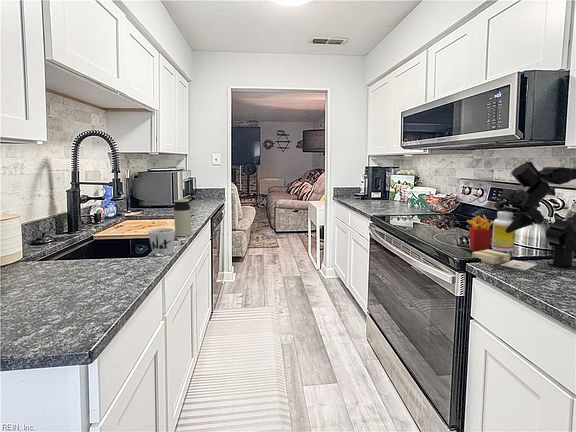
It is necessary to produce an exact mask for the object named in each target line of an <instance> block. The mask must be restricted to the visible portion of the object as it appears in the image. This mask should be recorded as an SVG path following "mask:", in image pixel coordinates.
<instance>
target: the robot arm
mask: <svg viewBox="0 0 576 432" xmlns="http://www.w3.org/2000/svg"><path fill="white" fill-rule="evenodd" d="M511 176H512V177H514V179H515V180H516V181H517V182H518V183H519V185H521V186H522V187H523V188H527V189H526V190H525V189H524V190H523V189H521V188H518V189H511V188H504V189H503V191H502V192H501V193H500V196H499V197H500V198H501V199H505V200H507V201H508V202H506V201H502V200H501V201H500V200H499V201H496V202H495V203H494V204H493V208H495V209H496V210H497V212H499V211H507V212H513V216H514V215H515V218H514V219H512V220H513V222H512V223H511V224H510V225H509V227H508V228H507V229H506V232H507V233H510V232H513V231H515V232H516V231H517V230H520V229H522V228H526V227H530V226H534V224H535V225H537V226H538V225H539V226H540V225H541V224H542V223H543V222H544V221H545V220H544V219H545V216H544V215H543V214H542V213H541V211H540V210H539V209H538V208H540V207H541V204H540V203H541V202H542V201H543V200H544V198H546V197H547V196H550V197H556V196H557V195H556V187H552V186H550V185H563V184H566V183H569V182H570V183H571V182H572V181H574V180H576V167H563V166H545V167H543V168H542V169H541V170H538V169H537V168H536V166H535V165H534V164H533V162H531V161H525V162H524V163H522V164H520V165H518V166H517V167H515V168H514V169H512V171H511ZM510 205H511V206H510ZM497 218H498V216H496V218H495V219H497ZM545 238H546V240H547V243H548V246H550V247H554V248H553V254H552V255H553V258H552V261H551V262H547V264H548V265H550V266H554V267H555V266H556V267H560V268H564V269H570V268H574V267H576V263H574V253H575V252H576V212H575V213H574V214H572V215H571V216H570V217H569V218H568V219H566V220H564V219H560V218H559V219H556V220H555V221H554V222H553V223H552V224H550V225H548V228H547V229H546V231H545Z"/></svg>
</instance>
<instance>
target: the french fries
mask: <svg viewBox="0 0 576 432" xmlns="http://www.w3.org/2000/svg"><path fill="white" fill-rule="evenodd" d="M482 217H483V218H482ZM482 217H481V215H477V216H474V217H472V218H471V219H470V220H469V219H467V220H466V223H468V224H470V225H471V226H469V228H468V229H469V231H468V232H469V243H470V245H469V247H470V252H471V251H473V252H477V251H482V250H487V249H488V250H490V245H491V242H492V235H493V228H491V226H493V222H494V220H492V221H490V222H489V220H488V219H487V216H485V214H483V215H482Z"/></svg>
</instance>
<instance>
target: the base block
mask: <svg viewBox="0 0 576 432" xmlns="http://www.w3.org/2000/svg"><path fill="white" fill-rule="evenodd" d="M471 253H472V254H471V258H472V257H476V258H479V259H481V261H480V262H483V263H487V264H491V265H498V264H504V263H507V262H509V261H511V254H510V253H506V252H503V251H497V250H494V249H489V250H488V249H487V250H482V251H477V252H471Z"/></svg>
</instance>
